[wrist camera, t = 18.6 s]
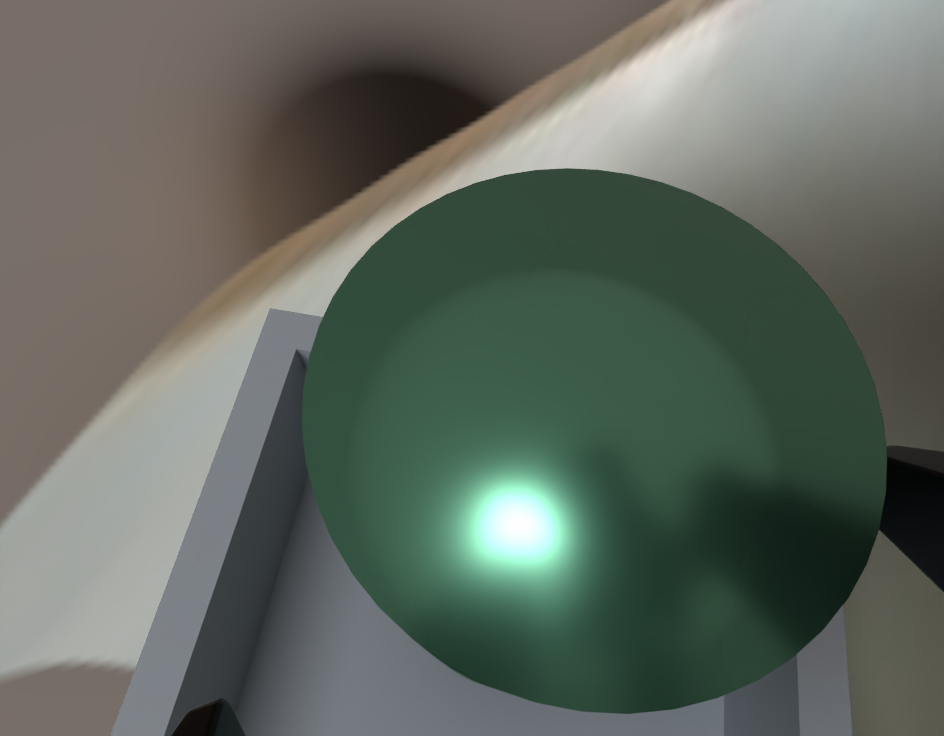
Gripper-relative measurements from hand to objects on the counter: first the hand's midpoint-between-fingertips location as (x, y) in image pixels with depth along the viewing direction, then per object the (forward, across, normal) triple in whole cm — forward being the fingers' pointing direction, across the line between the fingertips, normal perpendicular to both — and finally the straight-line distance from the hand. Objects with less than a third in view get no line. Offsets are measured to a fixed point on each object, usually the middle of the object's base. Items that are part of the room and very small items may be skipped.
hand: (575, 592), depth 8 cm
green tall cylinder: (+8, 0, +6) cm, 9 cm away
